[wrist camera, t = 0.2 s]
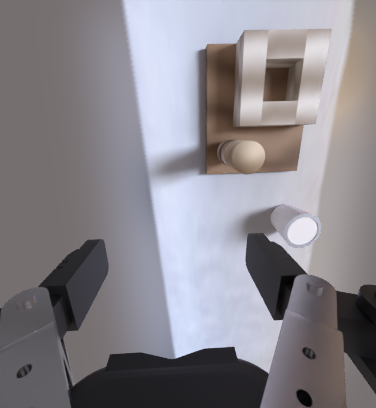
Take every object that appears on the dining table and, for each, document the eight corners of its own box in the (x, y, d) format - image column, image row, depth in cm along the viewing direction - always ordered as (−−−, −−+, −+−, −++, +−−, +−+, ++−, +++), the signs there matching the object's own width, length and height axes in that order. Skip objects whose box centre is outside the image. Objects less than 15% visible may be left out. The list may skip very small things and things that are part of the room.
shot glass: (306, 212, 42) (329, 227, 35) (283, 236, 43) (302, 254, 37) (283, 194, 40) (303, 206, 34) (260, 220, 42) (276, 236, 35)
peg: (215, 139, 35) (232, 140, 23) (238, 138, 35) (267, 139, 23) (214, 163, 36) (231, 175, 25) (237, 162, 36) (264, 174, 25)
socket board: (205, 48, 31) (211, 30, 26) (309, 46, 32) (335, 28, 27) (206, 172, 38) (210, 178, 33) (292, 169, 38) (310, 174, 33)
